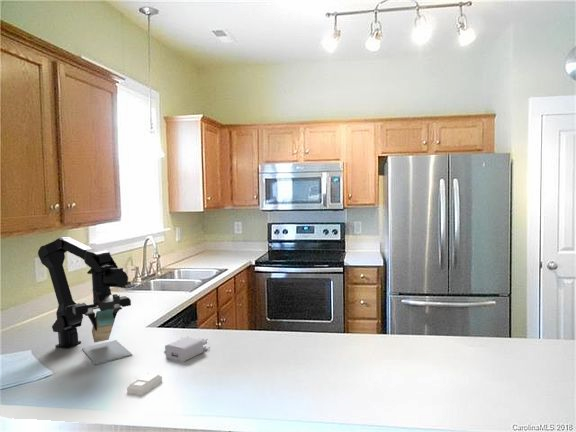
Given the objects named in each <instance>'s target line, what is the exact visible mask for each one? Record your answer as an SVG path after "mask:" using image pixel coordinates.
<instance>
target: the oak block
mask: <svg viewBox="0 0 576 432" xmlns="http://www.w3.org/2000/svg"><path fill="white" fill-rule="evenodd" d="M95 320H96V326H97V330H96V331H95V329H94V327H93V326H92V328H91V335H92V338H93V343H99V342H106V341H108V340H109V339H110V336H111V333H112V331H113V326H114V324H115V320H116V319H115V320H114V317H113V313H112V309H108V310H105V311H101V310H97V311H96V313H95Z"/></svg>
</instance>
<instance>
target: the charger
mask: <svg viewBox="0 0 576 432" xmlns="http://www.w3.org/2000/svg"><path fill="white" fill-rule="evenodd" d="M181 338H182V339H180V338H179V339H180V340H178V339H177V340H176V341H173V342H170V343H168V344H166V345H165V346H164V351H165V353H164V354H165V357H166V359H170V358H172V359H171V360H175V359H176V360H175V361H179V360H180V362H183V361H184V362H186V361H188V360H189V359H192V358H195V357H196V356H199V355H200V354H202V353H204V346H205V345H207V344H208V339H207V338H206V339H205V338H203V337H202V338H201V337H197V338H193V337H189V336H185V338H183V337H181Z"/></svg>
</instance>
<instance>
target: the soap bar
mask: <svg viewBox="0 0 576 432" xmlns="http://www.w3.org/2000/svg"><path fill="white" fill-rule="evenodd" d="M162 382H163V376H162V375H159V374H156V373H146V374H144V375H143V376H141V377H139V378H138V379H136V380H135V381H133V382H132V383H130V384H129V385H128V386H127V387H126V394H132V395H137V396H138V395H139V396H143V395H145V394H146V393H147V392H149V391H150V390H151V389H153V388H155V387H156V386H157V385H159V384H160V383H162Z"/></svg>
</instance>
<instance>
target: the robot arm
mask: <svg viewBox="0 0 576 432" xmlns="http://www.w3.org/2000/svg"><path fill="white" fill-rule="evenodd" d="M67 252H68V253H70V254H72V255H74V256H75V257H78V258H80V259H82V260H83V261H84V264H85V265H86V266H87V267H89V268H90V269H89V270H88V271H87V273H86V274H88V275H91V283H92V303H91V304H86V303H85V302H82V303H80V302H78V303H76V301H74V299H73V296H72V292H71V290H70V285H69V282H68V278H67V275H66V272H65V268H64V261H65V259H66V255H65V253H67ZM37 256H38V258H39V260H40V263H41V264H42V265H43V266H44V267H45V268H47V269H48V272H49V276H50V279H51V282H52V283H51V284H52V288H53V289H54V294H55V297H56V299H57V303H58V307H57V310H56V312H55V313H56V320H55V322H54V323H52V325H51V328H52V332H53V333H57V335H58V344H55V348H64V349H69V348H72V347H75V346H76V345H79V344H81V343H82V341H80V340H79V333H78V327H79V328H80V327H81V326H82V323H83V319H84V315H85V317H86V316H87V317H88V318H89V321H90V322H91V325H92V328H93V327H94V329H95V331H96V330H97V326H96V320H95V316H96V313H95V312H94V310H97V309H99V311H105V310H108V309H112V313H113V317H114V320H116V317H117V314H118V312H120V310H122V309H123V307H124V308H125V307H129V306H132V300H131V299H130V297H127V296H126V295H124V296H120V294H119V293H114V294H112V292H111V291H112V290H111V288H124V287H125V286H126V285H128V282H129V281H128V280H129V276H128V274H127V272H126V271H124V268H123V267H118V265H117V263H116V262H115V260H114V258H113V257H112V255H111V252H109V251H108V250H104V249H101V248H100V249H99V248H92V247H89V246H88V245H86V244H83V243H81V242H79V241H78V240H75V239H73V238H72V237H70V236H64V237H63V236H62V237H58V238H56V239H55V240H53V241H50V242H48V243H47V244H44V245H42V246H39V249H38V251H37Z"/></svg>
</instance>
